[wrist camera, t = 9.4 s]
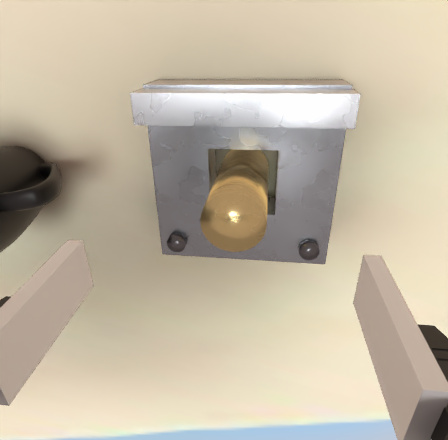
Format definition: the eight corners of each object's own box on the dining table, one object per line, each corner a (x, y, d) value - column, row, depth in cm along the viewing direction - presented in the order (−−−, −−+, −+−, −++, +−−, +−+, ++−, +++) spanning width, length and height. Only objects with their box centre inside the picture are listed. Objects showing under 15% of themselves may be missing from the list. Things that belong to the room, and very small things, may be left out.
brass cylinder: (222, 188, 30) (201, 249, 22) (221, 144, 28) (198, 191, 20) (267, 190, 30) (265, 253, 21) (269, 145, 28) (268, 194, 19)
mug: (115, 202, 32) (60, 258, 24) (9, 218, 35) (-73, 275, 27) (81, 114, 29) (3, 145, 20) (-34, 140, 31) (-145, 177, 23)
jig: (172, 234, 33) (153, 270, 28) (158, 79, 27) (129, 89, 21) (320, 242, 32) (329, 283, 26) (342, 79, 25) (361, 90, 20)
